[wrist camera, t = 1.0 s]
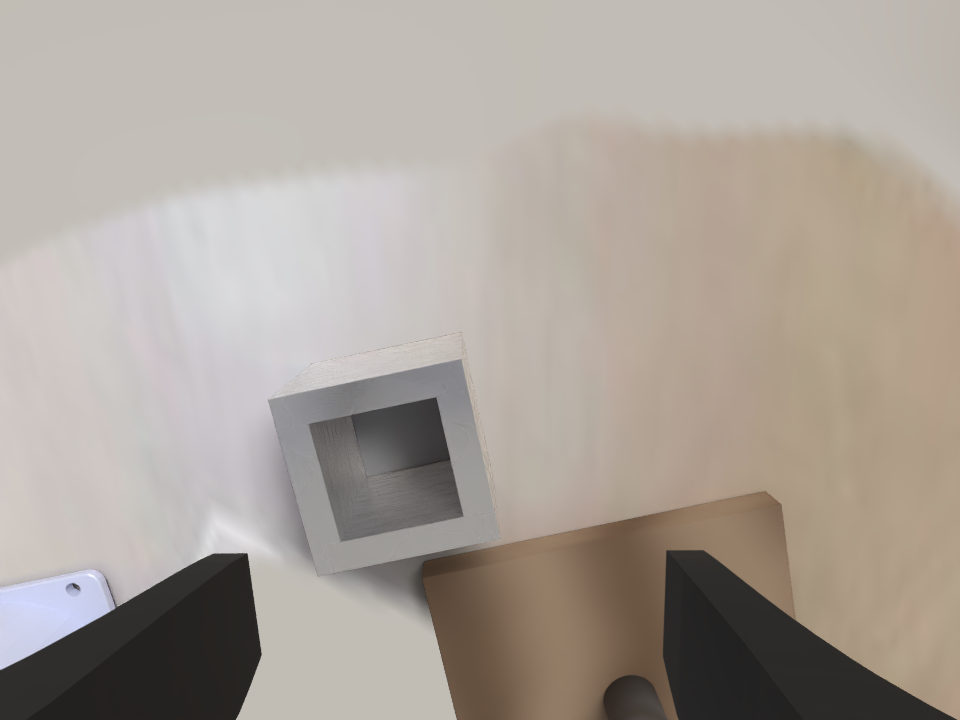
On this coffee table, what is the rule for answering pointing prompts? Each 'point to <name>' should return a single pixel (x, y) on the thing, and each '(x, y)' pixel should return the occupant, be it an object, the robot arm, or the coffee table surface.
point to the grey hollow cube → (395, 495)
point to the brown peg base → (588, 611)
